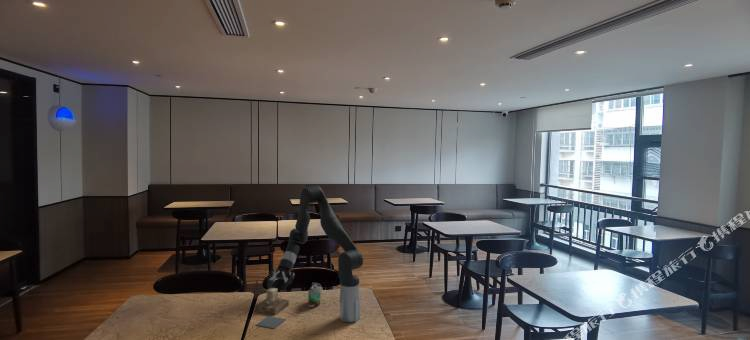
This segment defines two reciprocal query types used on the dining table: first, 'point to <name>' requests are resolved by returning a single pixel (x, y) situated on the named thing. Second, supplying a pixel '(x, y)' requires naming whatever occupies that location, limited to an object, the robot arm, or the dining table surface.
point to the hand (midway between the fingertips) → (275, 289)
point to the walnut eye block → (270, 308)
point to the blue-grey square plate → (271, 322)
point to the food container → (314, 295)
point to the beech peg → (272, 296)
